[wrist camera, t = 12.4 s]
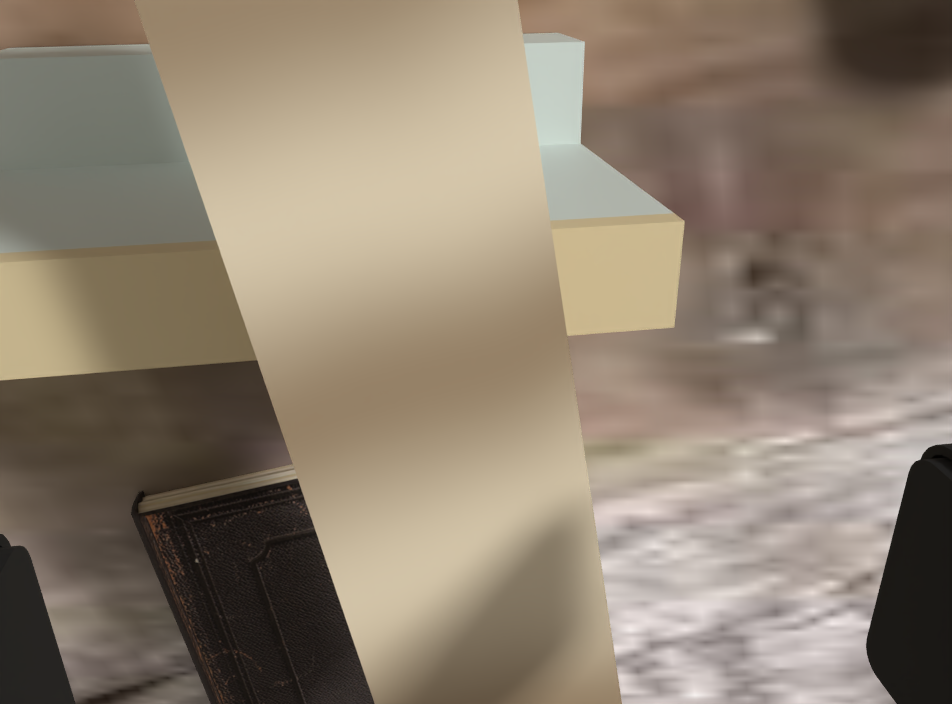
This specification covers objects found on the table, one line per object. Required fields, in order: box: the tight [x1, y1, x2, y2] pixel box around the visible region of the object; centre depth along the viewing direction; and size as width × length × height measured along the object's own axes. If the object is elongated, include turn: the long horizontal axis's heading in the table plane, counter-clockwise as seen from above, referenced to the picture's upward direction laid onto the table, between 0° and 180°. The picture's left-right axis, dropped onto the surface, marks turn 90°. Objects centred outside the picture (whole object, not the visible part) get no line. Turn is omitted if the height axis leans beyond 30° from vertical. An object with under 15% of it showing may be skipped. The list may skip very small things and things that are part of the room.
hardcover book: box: [131, 464, 375, 704], centre depth 36 cm, size 16×23×2 cm
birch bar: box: [134, 0, 622, 704], centre depth 15 cm, size 24×4×5 cm, turn 11°
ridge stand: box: [0, 33, 685, 380], centre depth 22 cm, size 16×8×11 cm, turn 91°
